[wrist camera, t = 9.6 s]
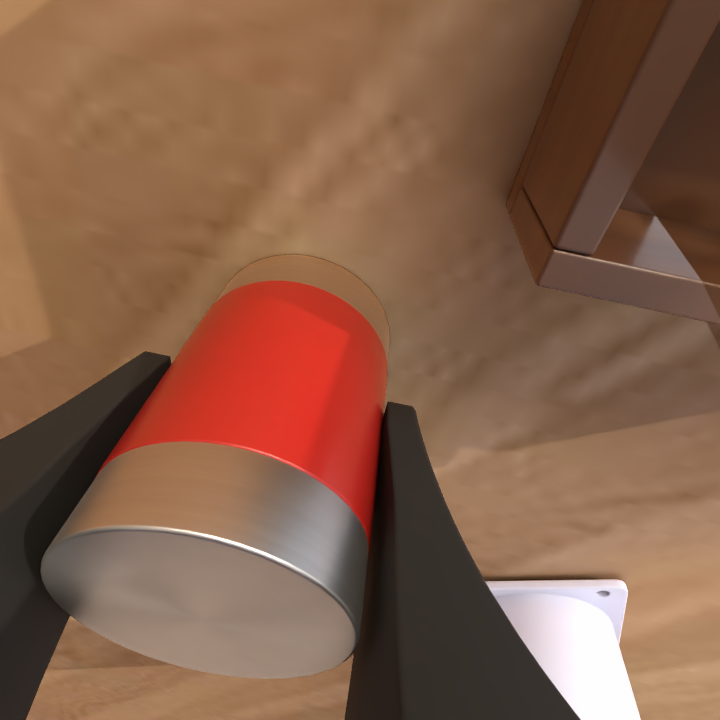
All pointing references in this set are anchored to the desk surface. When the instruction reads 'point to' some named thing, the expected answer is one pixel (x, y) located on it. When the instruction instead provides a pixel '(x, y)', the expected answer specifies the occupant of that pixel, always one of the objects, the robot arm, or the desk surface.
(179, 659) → the can
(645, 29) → the case
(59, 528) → the robot arm
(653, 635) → the desk surface
